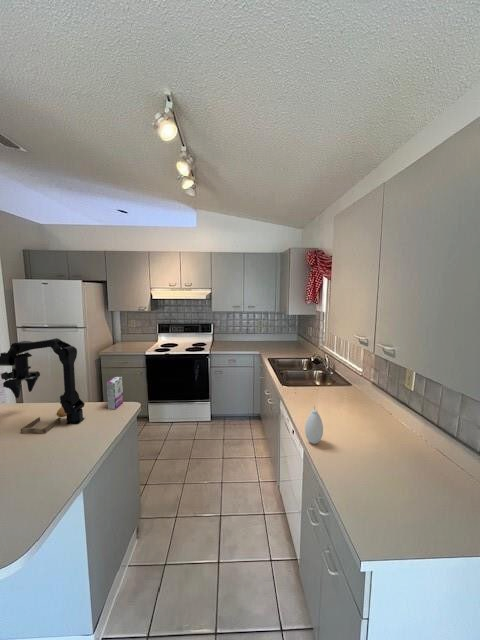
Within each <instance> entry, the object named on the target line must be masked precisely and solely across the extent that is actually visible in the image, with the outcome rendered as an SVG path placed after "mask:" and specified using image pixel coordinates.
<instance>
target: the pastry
mask: <svg viewBox="0 0 480 640" xmlns="http://www.w3.org/2000/svg"><path fill="white" fill-rule="evenodd" d="M56 413H57V416H58V418H59V417H61V418H63V417H67V413H65V411H64V409H63V407H62V406H60V408H59V409H58V410H57V412H56Z"/></svg>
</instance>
